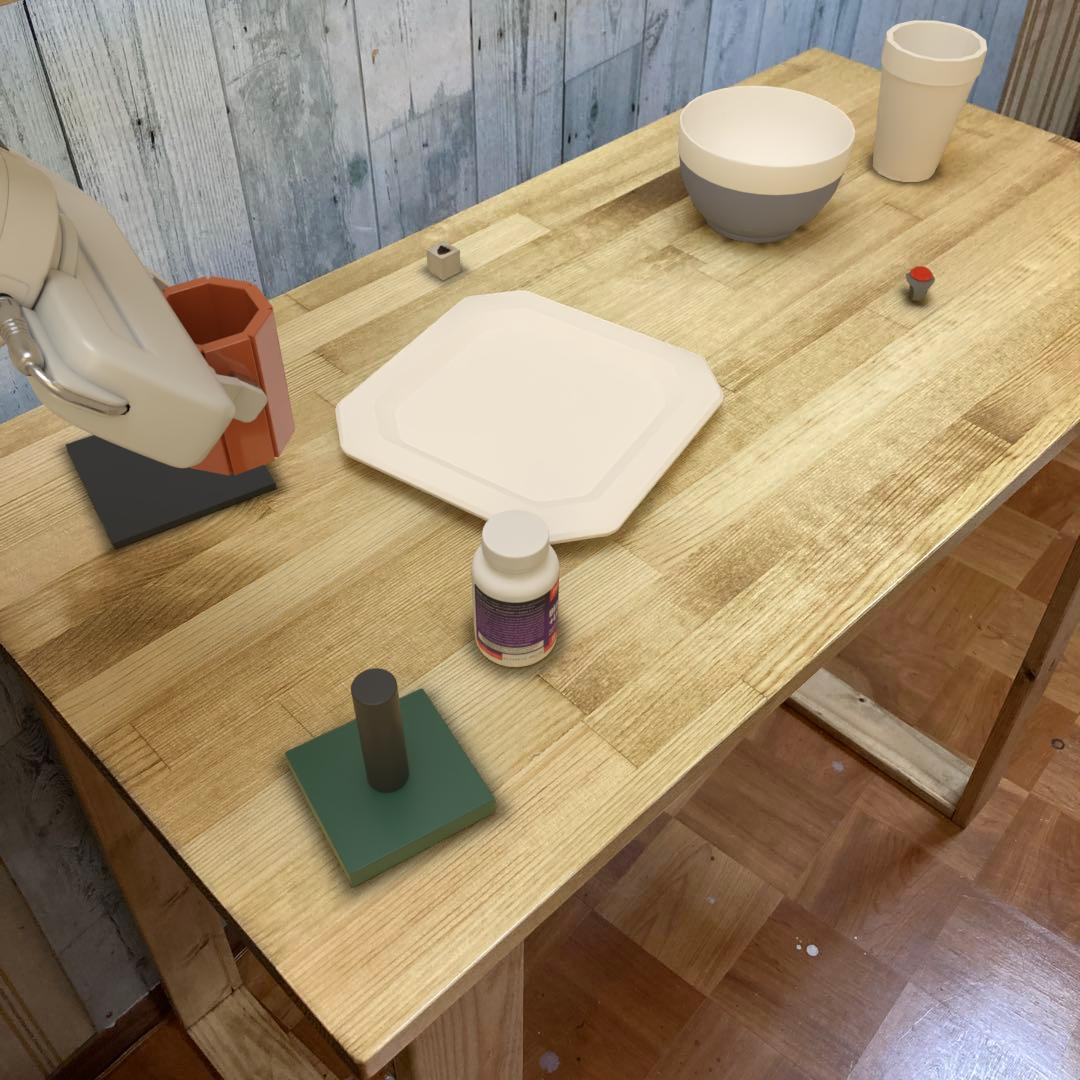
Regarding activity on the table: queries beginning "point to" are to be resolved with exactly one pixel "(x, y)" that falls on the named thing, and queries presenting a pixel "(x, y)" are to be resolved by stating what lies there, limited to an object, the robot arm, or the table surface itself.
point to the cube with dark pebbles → (443, 260)
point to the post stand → (388, 779)
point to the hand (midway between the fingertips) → (228, 362)
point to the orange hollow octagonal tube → (238, 364)
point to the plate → (531, 413)
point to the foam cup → (922, 94)
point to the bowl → (762, 159)
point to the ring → (919, 282)
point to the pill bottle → (515, 590)
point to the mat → (154, 489)
